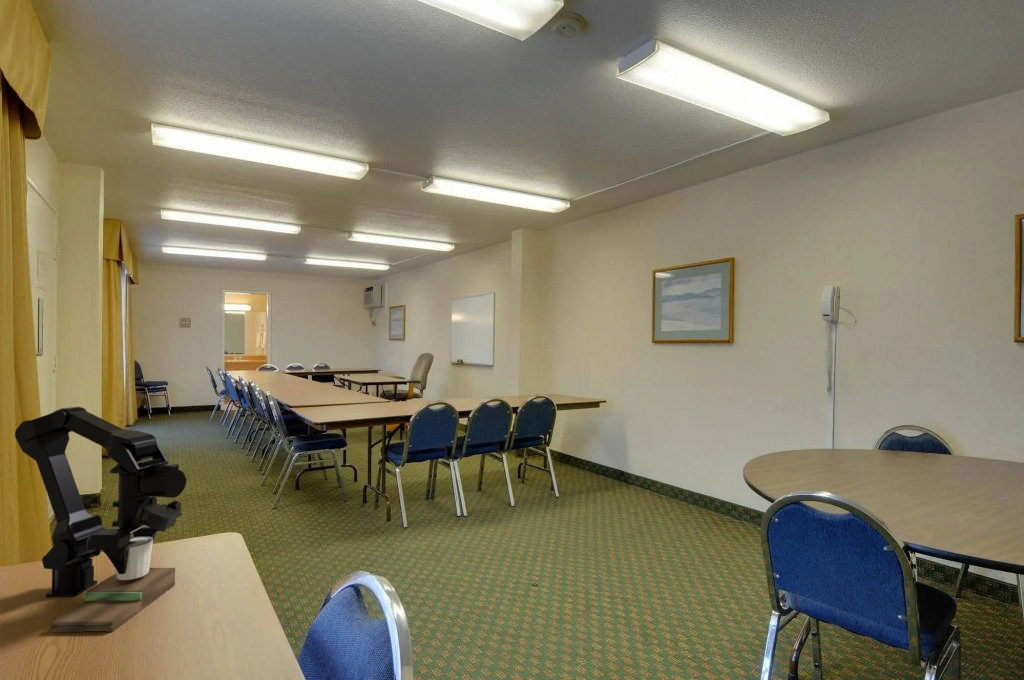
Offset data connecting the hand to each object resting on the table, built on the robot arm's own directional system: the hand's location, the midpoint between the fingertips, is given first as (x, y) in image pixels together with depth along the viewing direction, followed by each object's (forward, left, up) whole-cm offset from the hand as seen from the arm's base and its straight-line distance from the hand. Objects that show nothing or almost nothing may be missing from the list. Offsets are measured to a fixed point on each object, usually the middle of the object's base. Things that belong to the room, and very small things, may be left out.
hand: (133, 567), depth 111 cm
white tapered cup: (0, 0, -2) cm, 2 cm away
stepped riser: (0, -4, -6) cm, 8 cm away
